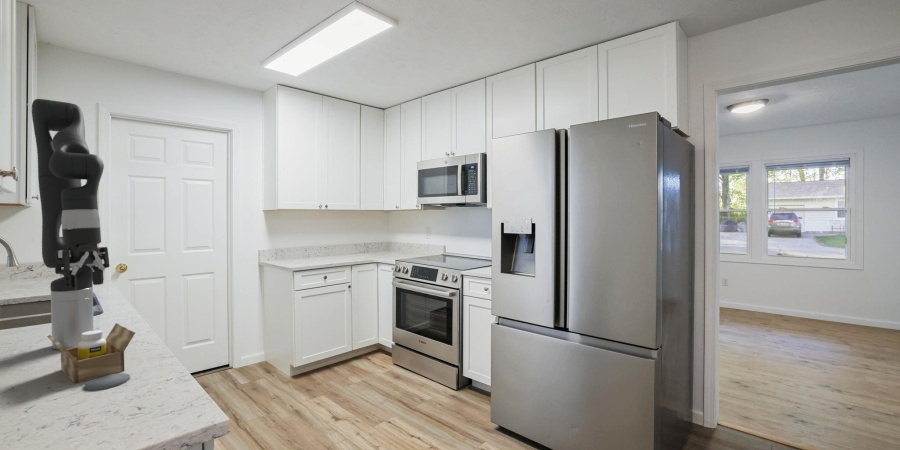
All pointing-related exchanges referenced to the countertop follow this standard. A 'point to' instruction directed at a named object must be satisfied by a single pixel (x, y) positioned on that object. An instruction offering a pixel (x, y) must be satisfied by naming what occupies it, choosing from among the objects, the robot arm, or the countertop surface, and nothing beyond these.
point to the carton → (99, 364)
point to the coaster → (107, 381)
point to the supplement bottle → (91, 345)
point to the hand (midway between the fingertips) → (85, 287)
